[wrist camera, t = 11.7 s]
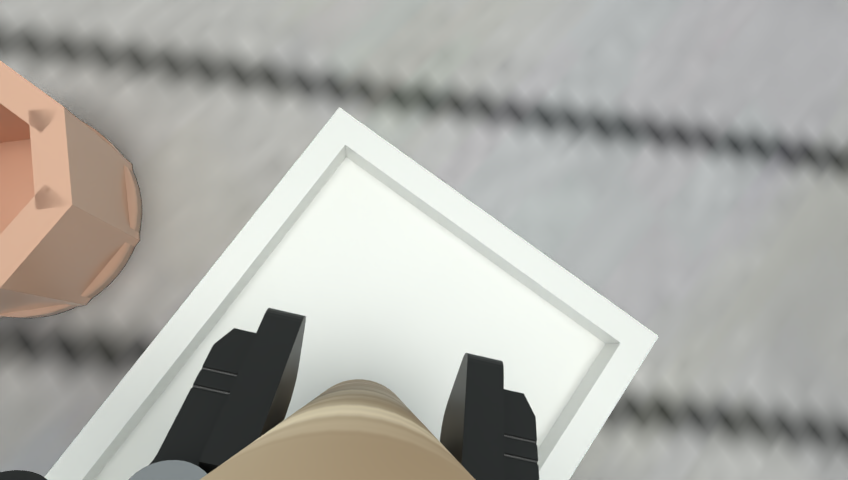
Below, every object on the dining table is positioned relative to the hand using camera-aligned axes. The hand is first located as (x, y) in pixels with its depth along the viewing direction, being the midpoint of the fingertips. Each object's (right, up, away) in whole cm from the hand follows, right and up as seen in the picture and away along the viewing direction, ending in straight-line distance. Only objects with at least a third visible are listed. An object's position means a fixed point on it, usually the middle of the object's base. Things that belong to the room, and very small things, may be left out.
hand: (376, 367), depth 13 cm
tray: (-2, -4, +12) cm, 13 cm away
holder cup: (-13, +3, +12) cm, 18 cm away
